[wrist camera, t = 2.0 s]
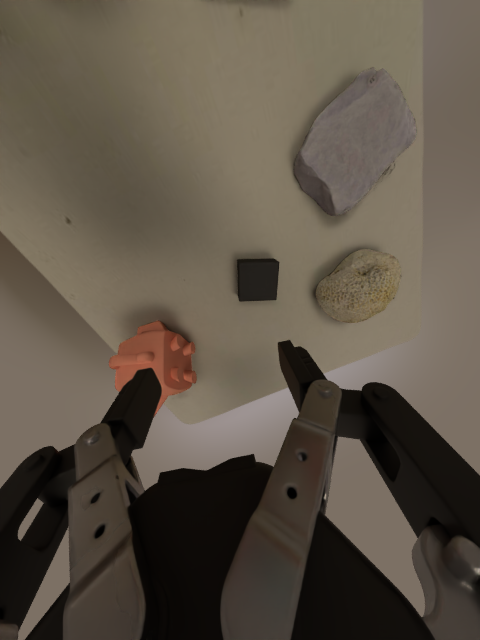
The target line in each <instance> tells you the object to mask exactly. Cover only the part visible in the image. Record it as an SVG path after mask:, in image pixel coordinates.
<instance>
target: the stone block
mask: <svg viewBox="0 0 480 640" xmlns="http://www.w3.org/2000/svg"><path fill="white" fill-rule="evenodd" d="M416 134H417V130H416V125H415V119H414V118H413V115H412V112H411V111H410V110H409V107H408V105H407V102H406V100H405V98H404V96H403V94H402V91H401V89H400V87H399V85H398V84H397V82H396V81H395V80H394V79H393V78H392V77H391V75H390V74H389V73H388V72H387V71H386V70H385V69H384V68H382V69H380V70H378V71H376V70H375V68H373V67H372V68H370V69H368V70H365V71H362V72H361V73H360V74H359V75H358V76H357V77H356V78H355V80H354V81H353V82H352V83H351V85H350V86H349V87H348V88H347V89H346V90H344V91H343V92H342V93H341V94H339V95H338V96H337V97H336V98H335V99H334V100H333V101H332V102H331V103H330V104H329V105H328V106H327V107H326V108H325V109H324V111H323V112H322V113H321V114H320V115H319V116H318V117H317V118H316V119H315V121H314V123H313V125H312V127H311V129H310V130H309V132H308V134H307V135H306V137H305V140H304V142H303V145H302V147H301V149H300V151H299V152H298V154H297V156H296V159H295V163H294V173H295V176H296V177H297V179H298V181H299V183H300V186H301V188H302V190H303V191H304V192H306V193H307V194H308V195H310V196H311V197H312V198H313V199H314V200H315V201H316V202H317V203H318V204H319V205H320V206H321V207H322V208H323V210H324V211H326V212H327V214H329V215H331V216H338V215H340V214H344V213H345V212H347V211H349V210H351V209H352V208H353V207H354V206H355V205H356V204H357V203H358V202H359V201H360V200H361V199H362V198H363V197H364V196H365V195H366V193H367V192H368V191H369V190H370V189H371V188H372V186H373V185H374V184H375V183H376V181H377V180H378V179H379V177H380V176H381V174H382V173H383V172H384V171H385V169H386V168H387V167H388V166H389V165H390V164H391V163H392V162H393V161H394V160H395V159H396V158H397V157H398V156H399V155H400V154H401V153H402V152H404V151H405V150H406V149H407V148H408V147H409V146H410V145H411V144H412V143H413V141H414V140H415V138H416Z"/></svg>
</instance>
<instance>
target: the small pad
mask: <svg viewBox="0 0 480 640" xmlns="http://www.w3.org/2000/svg"><path fill="white" fill-rule="evenodd" d="M278 272H279V261H277V260H275V259H238V260H237V274H238V298H239V301H264V300H276V298H277V285H278Z"/></svg>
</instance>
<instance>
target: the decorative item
mask: <svg viewBox="0 0 480 640" xmlns="http://www.w3.org/2000/svg"><path fill="white" fill-rule="evenodd" d="M400 273H401V269H400V266H399V264H398V260H397V259H396V258H395V257H394V256H392V255H390V254H386V253H382V252H377V251H374V250H369V249H361V250H359V251H356V252H353V253H351V254H350V255H349V256H348V257H347V258H345V259H344V260H343V261H342V262H341V263H340V265H339V266H337V268H336V269H335V270H334V271H333V273H332V274H331V275H329V276H326V277H325V278H324V279H323V280H321V281H320V282H319V284H318V286H317V289H316V297H317V300H318V303H319V305H320V307H322V309H323V310H324V311H325V312H326V313H327V314H328V315H329V316H332V317H333V318H334V319H335V320H338V321H342V322H348V323H356V322H361V321H364V320H367V319H368V318H370V317H372V316H374V315H376V314H378V313H380V312H381V311H383V310H385V308H386V307H387V304H388V303H389V302H390V301H391V300H392V299H394V296H395V295H396V292H397V290H398V286H399V283H400V279H401V274H400Z"/></svg>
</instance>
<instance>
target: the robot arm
mask: <svg viewBox="0 0 480 640" xmlns="http://www.w3.org/2000/svg"><path fill="white" fill-rule="evenodd" d="M278 352H279V361H280V367H281V370H282V373H283V375H284V378H285V380H286V382H287V385H288V387H289V389H290V392H291V394H292V396H293V399H294V401H295V404H296V406H297V408H298V411H299V415H298V417H297V419H296V418H294V419H293V420H292V422H291V425H290V427H289V430H288V432H287V435H286V437H285V440H284V442H283V445H282V447H281V450H280V453H279V455H278V458H277V460H276V463H275V465H274V467H273V466H270V465H268V464H265V463H261V462H256V460H255V457H254V454H251V455H247V456H241V457H236V458H232V459H229V460H227V461H225V462H223V463H221V464H219V465H217V466H215V467H213V468H211V469H209V470H206V471H204V470H195V469H186V468H181V469H176V470H171V471H166V472H161V473H160V475H159V479H158V483H156V484H154V485H153V486H151V487H150V488H148V489H147V490H146V491H145V490H144V488H143V485H142V482H141V480H140V477H139V474H138V471H137V468H136V466H135V463H134V460H133V458H132V456H131V453H132V451H133V450H134V449H139V448H142V447H143V445H144V442H145V440H146V437H147V434H148V431H149V428H150V426H151V423H152V420H153V417H154V415H155V412H156V409H157V406H158V403H159V401H160V398H161V395H162V387H161V384H160V382H159V380H158V378H157V376H156V374H155V372H154V370H153V369H152V368H151V367H150V368H145V369H140V370H137V372H136V373H135V375H134V377H133V378H132V379H131V380H129V381H128V382H127V383H126V384H125V385H124V386H123V387H122V389H121V391H120V392H119V395H118V396H117V397H116V399H115V401H114V402H113V403H112V405H111V407H110V408H109V410H108V412H107V413H106V415H105V416H104V418H103V420H102V421H101V423H100V424H97V425H95V426H93V427H91V428H89V429H88V430H87V431H85V432H84V433H83V434H82V435H81V436H80V437H79V439H78V440H77V442H76V444H74V445H72V446H70V447H68V448H65V449H63V450H61V451H59V452H58V451H57V450H56V449H55V448H54V447H53V446H48V447H44V448H42V449H39V450H38V451H36V452H34V453H33V454H32V455H30V456H29V457H27V458H26V459H25V460H24V461H23V462H22V463H21V464H20V465H19V466H18V468H17V469H16V470H15V471H14V472H13V474H12V475H11V476H10V477H9V479H8V480H7V481H6V482H5V484H4V485H3V486H2V487H1V489H0V640H18V631H19V629H20V627H21V625H22V623H23V621H24V619H25V617H26V614H27V612H28V610H29V608H30V606H31V604H32V602H33V600H34V598H35V596H36V593H37V591H38V589H39V587H40V585H41V583H42V581H43V578H44V576H45V574H46V572H47V570H48V568H49V566H50V564H51V562H52V560H53V557H54V555H55V553H56V551H57V549H58V547H59V545H60V543H61V541H62V539H63V537H64V534H65V532H66V530H67V528H68V526H69V561H70V583H69V584H68V586H67V587H66V588H65V589H64V591H63V592H62V593H61V594H60V596H59V597H58V598H57V600H56V601H55V602H54V603H53V605H52V606H51V607H50V608H49V610H48V611H47V612H46V613H45V615H44V616H43V617H42V618H41V620H40V621H39V622H38V624H37V625H36V626H35V627H34V629H33V630H32V631H31V632H30V634H29V635H28V636H27V638H26V639H25V640H480V475H479V474H478V473H477V472H476V471H475V470H474V469H473V468H472V467H471V466H470V465H469V464H468V463H467V462H466V461H465V460H464V459H463V458H462V457H461V456H460V455H459V454H458V453H457V452H456V451H455V450H454V449H453V448H452V447H451V446H450V445H449V444H448V443H447V442H446V441H445V440H444V439H443V438H442V437H441V436H440V435H439V434H438V433H437V432H436V431H435V430H434V429H433V427H431V425H429V423H428V422H427V421H426V420H424V418H423V417H422V416H421V415H420V414H419V413H418V412H417V411H416V410H415V409H414V408H413V407H412V406H411V405H410V404H409V403H408V402H407V401H406V400H405V399H404V398H403V397H402V396H401V395H400V394H399V393H398V392H397V391H396V390H395V389H393V388H391V387H390V386H388V385H385V384H382V383H377V382H371V383H367V384H365V385H364V386H363V387H362V391H359V390H346V389H341V388H339V386H337V385H336V384H335V383H333V382H331V381H328V380H327V379H326V377H325V376H324V374H323V373H322V372H321V370H320V369H319V367H318V366H317V364H316V363H315V362H314V360H313V359H312V357H311V356H310V354H309V353H308V351H307V350H305V349H304V348H302V347H300V346H299V347H294V346H293V344H292V343H291V341H290V340H287V341H282V342H278ZM338 436H339V437H346V438H354V439H360V441H361V442H362V444H363V446H364V447H365V449H366V451H367V453H368V454H369V456H370V458H371V459H372V461H373V463H374V464H375V466H376V468H377V470H378V471H379V473H380V475H381V476H382V478H383V480H384V481H385V483H386V485H387V487H388V488H389V490H390V491H391V493H392V495H393V497H394V498H395V500H396V502H397V504H398V505H399V507H400V509H401V510H402V512H403V514H404V516H405V517H406V519H407V521H408V522H409V524H410V526H411V527H412V529H413V531H414V532H415V534H416V536H417V538H418V539H417V541H416V543H415V544H414V547H413V550H412V560H413V565H414V568H415V571H416V573H417V575H418V578H419V580H420V583H421V585H422V589H423V592H424V597H425V613H424V616H423V617H421V616H420V615H419V614H418V612H417V611H416V609H415V608H414V607H413V606H412V604H411V603H410V602H409V601H408V599H407V598H406V597H405V596H404V595H403V594H402V593H401V592H400V591H399V589H398V588H397V587H395V585H393V583H392V582H391V581H390V580H389V579H388V578H387V577H386V576H385V575H384V574H383V573H382V572H381V571H380V570H379V569H378V568H377V567H376V566H375V565H374V564H373V563H372V562H371V561H370V560H369V559H368V558H367V557H366V556H365V555H364V554H363V553H362V552H361V551H360V550H359V549H358V548H357V547H356V546H355V545H354V544H353V543H352V542H351V541H350V540H349V539H348V538H347V537H346V536H345V535H344V534H343V533H342V532H341V531H340V530H339V529H338V528H337V527H336V526H335V525H334V524H333V523H332V522H331V521H330V520H329V519H328V518H327V517H326V516H325V513H326V507H327V501H328V496H329V489H330V482H331V474H332V468H333V463H334V457H335V451H336V445H337V440H338ZM37 498H38V499H40V500H41V501H42V502H43V503H44V504H43V505H42V507H41V509H40V511H39V512H38V514H37V515H36V517H35V519H34V520H33V522H32V524H31V525H30V527H29V529H28V530H27V532H26V534H25V535H24V537H23V538H22V540H21V541H20V540H19V539H18V530H19V527H20V525H21V523H22V521H23V520H24V518H25V516H26V515H27V513H28V512H29V510H30V509H31V507H32V506H33V504H34V502H35V501H36V499H37Z"/></svg>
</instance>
